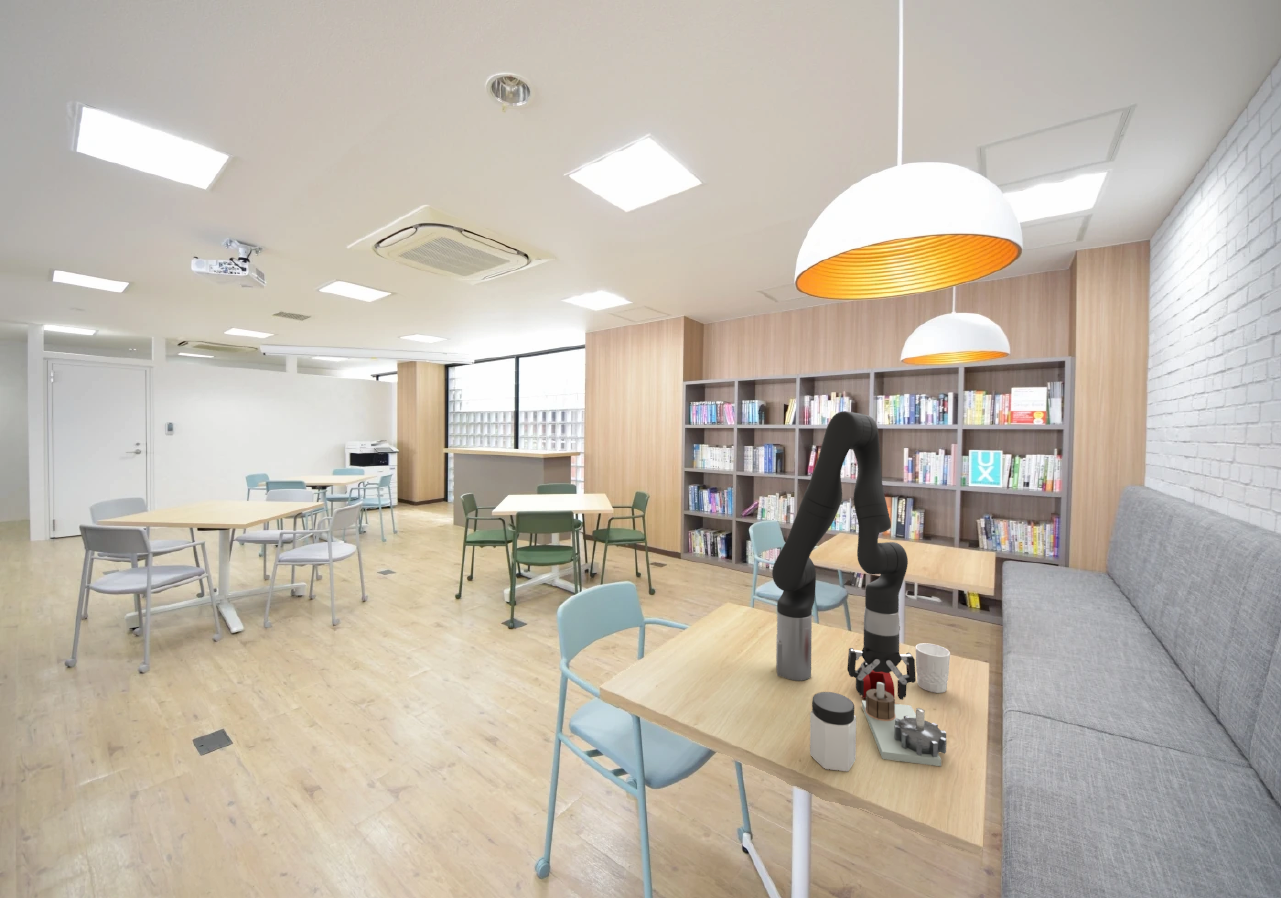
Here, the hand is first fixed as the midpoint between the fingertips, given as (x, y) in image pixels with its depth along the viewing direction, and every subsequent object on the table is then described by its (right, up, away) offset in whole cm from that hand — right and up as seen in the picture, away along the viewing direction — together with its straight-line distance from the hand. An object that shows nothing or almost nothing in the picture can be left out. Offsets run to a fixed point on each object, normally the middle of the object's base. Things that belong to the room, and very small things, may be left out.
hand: (880, 696), depth 117 cm
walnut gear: (0, -4, 0) cm, 4 cm away
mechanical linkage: (+5, -5, +15) cm, 17 cm away
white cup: (+21, -5, +15) cm, 26 cm away
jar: (-16, -7, -13) cm, 22 cm away
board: (+1, -6, -5) cm, 8 cm away
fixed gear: (+3, -5, -11) cm, 12 cm away
